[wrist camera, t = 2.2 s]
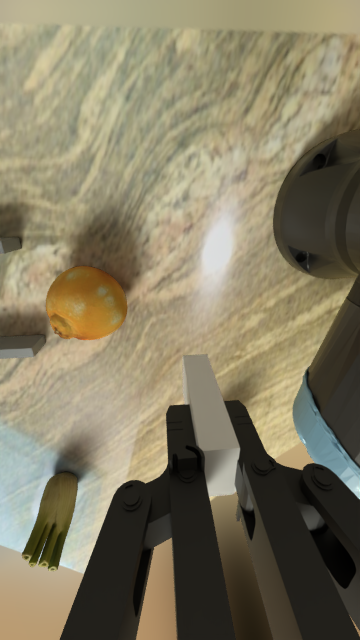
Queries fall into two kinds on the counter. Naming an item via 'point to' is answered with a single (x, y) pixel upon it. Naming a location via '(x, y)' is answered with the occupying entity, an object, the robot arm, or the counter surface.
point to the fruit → (85, 304)
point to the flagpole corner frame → (18, 344)
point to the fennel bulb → (52, 521)
